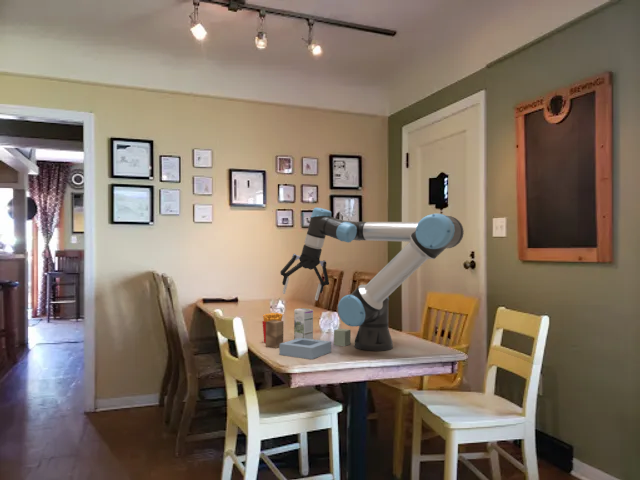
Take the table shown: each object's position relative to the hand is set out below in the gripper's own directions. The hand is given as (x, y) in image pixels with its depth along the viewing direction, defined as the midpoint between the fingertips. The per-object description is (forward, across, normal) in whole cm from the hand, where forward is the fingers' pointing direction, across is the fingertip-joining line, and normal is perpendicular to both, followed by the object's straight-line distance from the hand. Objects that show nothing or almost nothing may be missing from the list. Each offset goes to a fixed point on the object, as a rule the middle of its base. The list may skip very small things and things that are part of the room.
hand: (300, 296), depth 196 cm
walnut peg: (+21, +6, +6) cm, 22 cm away
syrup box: (+19, -6, +4) cm, 20 cm away
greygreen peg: (+15, -21, +5) cm, 26 cm away
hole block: (+16, -4, +19) cm, 25 cm away
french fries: (+23, +6, -3) cm, 24 cm away
